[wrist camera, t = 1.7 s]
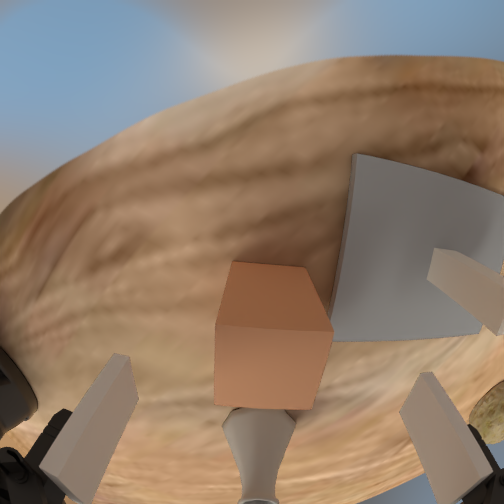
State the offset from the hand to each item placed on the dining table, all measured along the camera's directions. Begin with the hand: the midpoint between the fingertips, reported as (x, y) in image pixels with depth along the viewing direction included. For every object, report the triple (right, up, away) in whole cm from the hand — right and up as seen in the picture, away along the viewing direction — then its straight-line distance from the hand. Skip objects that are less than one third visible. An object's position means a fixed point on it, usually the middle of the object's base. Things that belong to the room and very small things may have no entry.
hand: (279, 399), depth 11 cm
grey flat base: (+14, +5, +9) cm, 18 cm away
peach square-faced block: (0, +3, +10) cm, 10 cm away
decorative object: (+36, -18, +16) cm, 43 cm away
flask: (0, -11, +14) cm, 18 cm away
